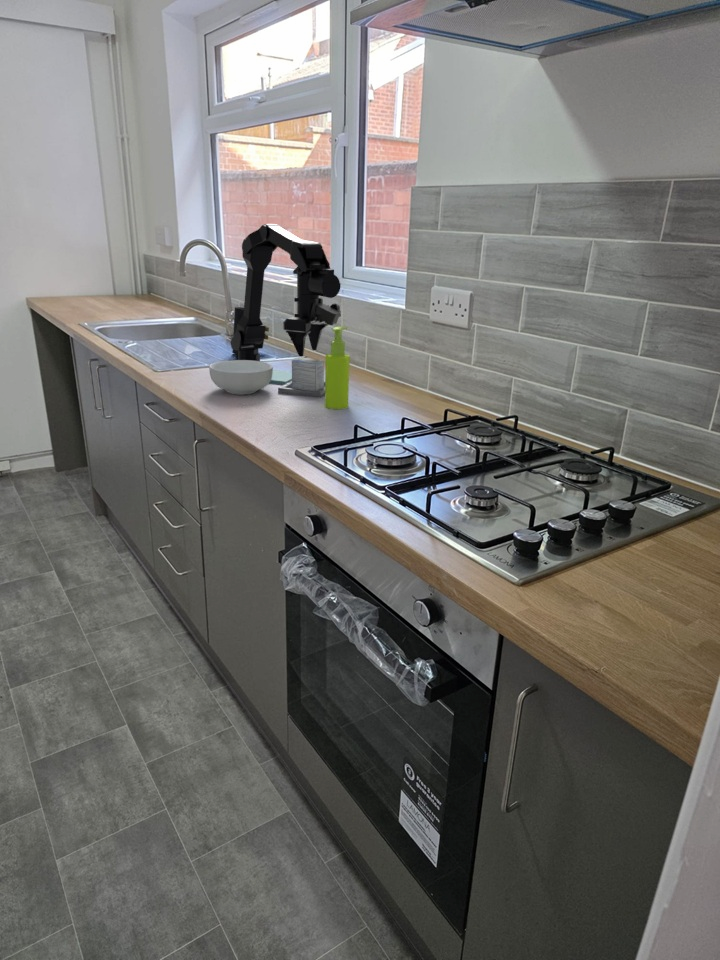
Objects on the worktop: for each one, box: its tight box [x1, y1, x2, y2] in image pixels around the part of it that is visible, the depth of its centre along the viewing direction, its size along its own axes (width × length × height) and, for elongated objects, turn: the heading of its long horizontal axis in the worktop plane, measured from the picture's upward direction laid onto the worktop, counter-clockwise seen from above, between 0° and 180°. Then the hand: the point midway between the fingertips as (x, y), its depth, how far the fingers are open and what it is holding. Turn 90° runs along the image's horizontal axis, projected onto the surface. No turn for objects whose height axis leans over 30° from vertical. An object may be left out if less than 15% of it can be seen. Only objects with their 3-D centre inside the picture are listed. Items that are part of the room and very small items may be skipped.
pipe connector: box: [232, 306, 270, 355], centre depth 221 cm, size 12×5×15 cm, turn 113°
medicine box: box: [291, 356, 325, 391], centre depth 178 cm, size 8×4×9 cm, turn 65°
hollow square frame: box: [277, 381, 325, 398], centre depth 179 cm, size 12×12×2 cm
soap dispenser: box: [324, 325, 351, 410], centre depth 162 cm, size 6×7×20 cm
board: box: [269, 369, 292, 386], centre depth 191 cm, size 12×12×1 cm
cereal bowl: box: [208, 359, 274, 395], centre depth 176 cm, size 17×17×7 cm
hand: (307, 353), depth 176 cm, fingers open, 9 cm apart
